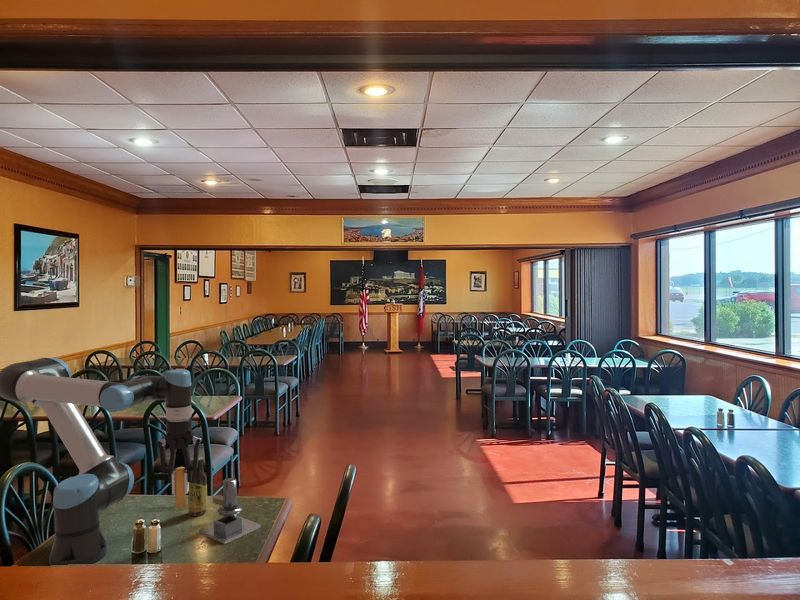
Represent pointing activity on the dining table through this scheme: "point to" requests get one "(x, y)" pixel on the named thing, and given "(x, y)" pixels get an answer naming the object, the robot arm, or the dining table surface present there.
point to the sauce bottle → (198, 490)
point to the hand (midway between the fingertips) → (180, 492)
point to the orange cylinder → (180, 487)
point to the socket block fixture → (229, 516)
